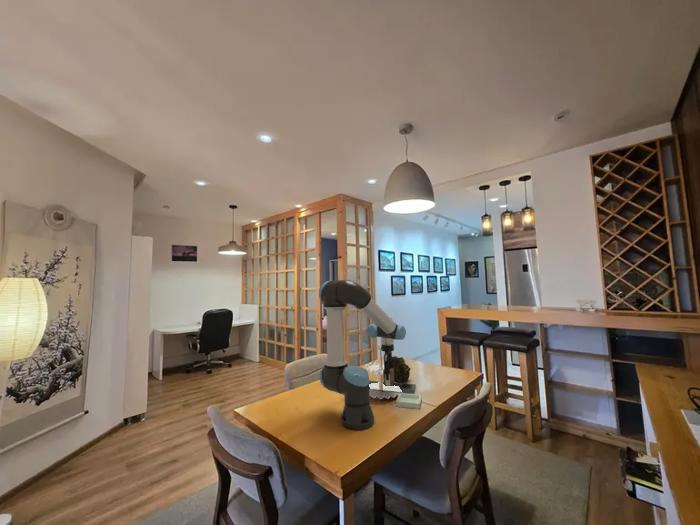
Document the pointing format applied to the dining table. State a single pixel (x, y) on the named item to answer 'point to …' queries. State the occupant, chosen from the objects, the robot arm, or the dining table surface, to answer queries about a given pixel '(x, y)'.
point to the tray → (409, 401)
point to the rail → (402, 387)
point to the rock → (400, 370)
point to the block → (391, 371)
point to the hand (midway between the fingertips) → (388, 383)
